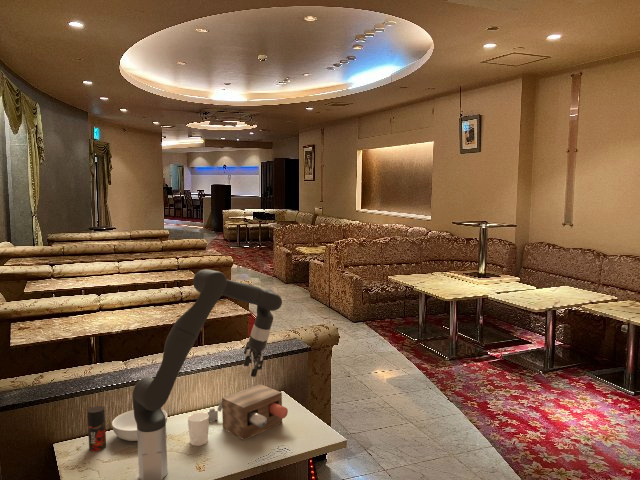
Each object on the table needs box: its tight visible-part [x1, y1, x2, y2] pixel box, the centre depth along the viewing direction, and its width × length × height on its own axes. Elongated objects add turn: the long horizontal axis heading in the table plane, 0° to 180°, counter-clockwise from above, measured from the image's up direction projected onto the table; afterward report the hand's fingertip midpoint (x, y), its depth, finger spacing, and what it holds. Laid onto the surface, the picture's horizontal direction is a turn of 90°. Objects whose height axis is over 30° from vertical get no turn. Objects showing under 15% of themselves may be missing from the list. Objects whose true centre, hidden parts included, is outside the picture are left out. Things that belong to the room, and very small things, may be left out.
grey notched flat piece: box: [206, 399, 222, 422], centre depth 207 cm, size 7×2×8 cm, turn 106°
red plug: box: [269, 402, 289, 420], centre depth 200 cm, size 10×4×4 cm, turn 47°
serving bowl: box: [111, 409, 168, 442], centre depth 195 cm, size 21×21×7 cm
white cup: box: [187, 411, 210, 447], centre depth 189 cm, size 8×8×10 cm
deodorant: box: [86, 405, 107, 453], centre depth 185 cm, size 6×6×15 cm
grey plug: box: [247, 411, 267, 428], centre depth 192 cm, size 10×4×4 cm, turn 47°
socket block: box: [221, 383, 283, 441], centre depth 202 cm, size 14×20×13 cm
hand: (249, 371), depth 207 cm, fingers open, 8 cm apart
